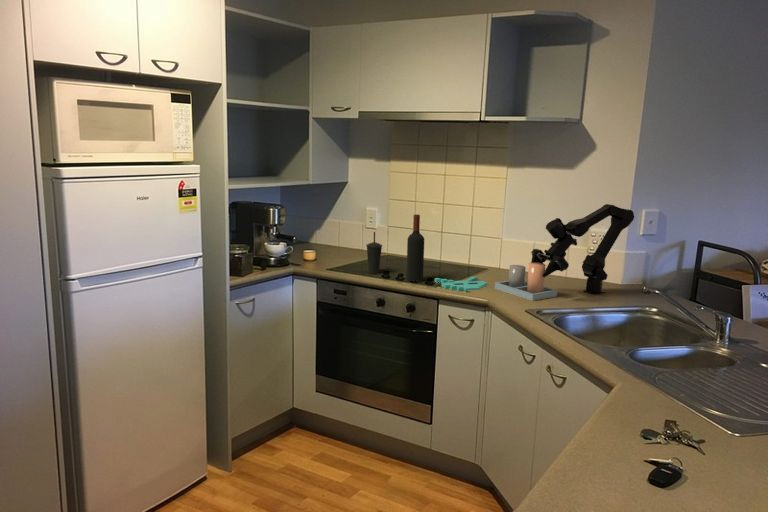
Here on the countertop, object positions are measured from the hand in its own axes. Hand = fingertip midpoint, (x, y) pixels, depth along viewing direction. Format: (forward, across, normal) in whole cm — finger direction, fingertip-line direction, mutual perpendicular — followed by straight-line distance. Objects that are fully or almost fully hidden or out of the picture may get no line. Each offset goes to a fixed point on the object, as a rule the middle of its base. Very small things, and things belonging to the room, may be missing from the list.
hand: (536, 274), depth 243 cm
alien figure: (+21, +25, +6) cm, 33 cm away
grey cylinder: (+8, +10, -5) cm, 14 cm away
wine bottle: (+32, +41, +18) cm, 56 cm away
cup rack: (+8, +5, -6) cm, 11 cm away
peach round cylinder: (+6, 0, -6) cm, 9 cm away
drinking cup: (+41, +60, +27) cm, 78 cm away
